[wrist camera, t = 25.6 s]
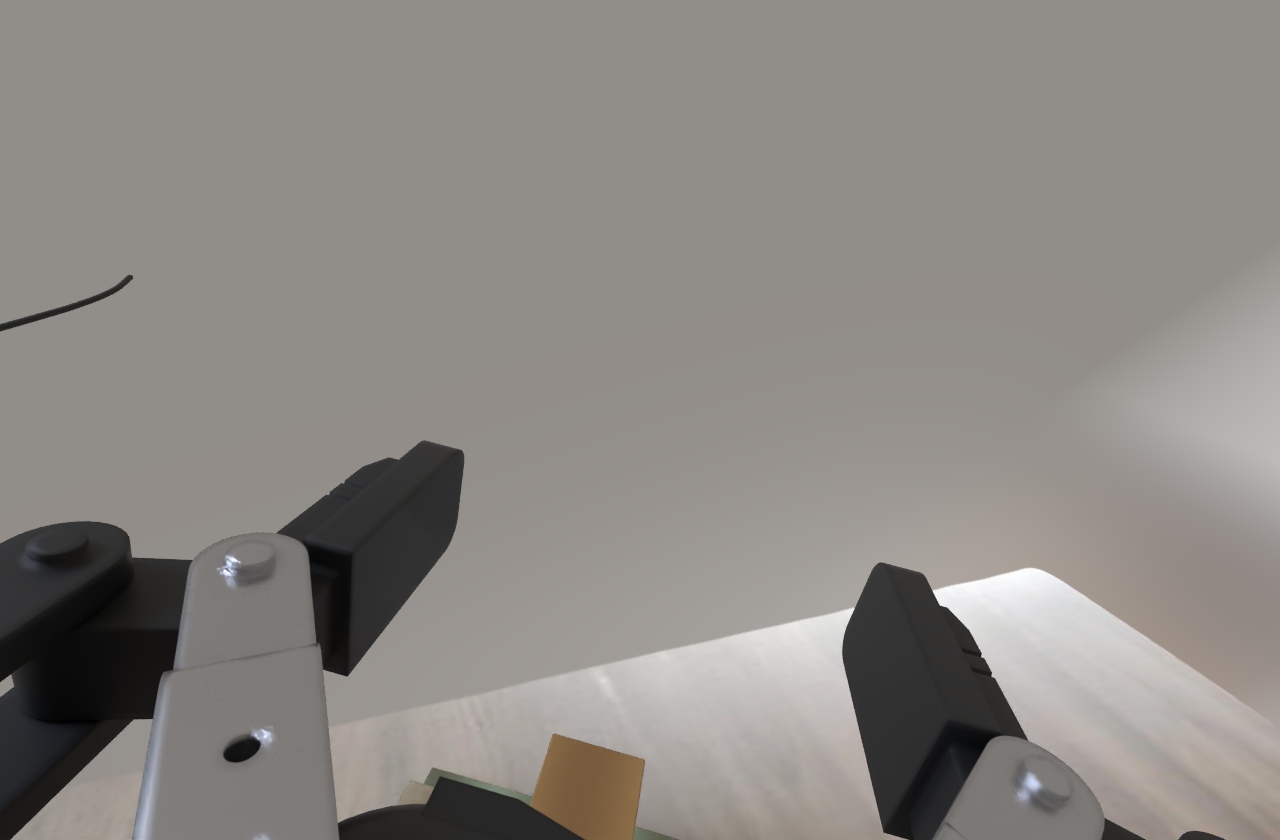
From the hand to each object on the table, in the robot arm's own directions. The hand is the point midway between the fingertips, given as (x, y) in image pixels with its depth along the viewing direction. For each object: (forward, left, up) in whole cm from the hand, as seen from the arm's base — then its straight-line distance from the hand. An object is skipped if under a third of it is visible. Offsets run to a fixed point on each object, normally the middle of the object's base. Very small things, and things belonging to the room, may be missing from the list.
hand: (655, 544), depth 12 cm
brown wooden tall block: (-5, +6, -27) cm, 28 cm away
